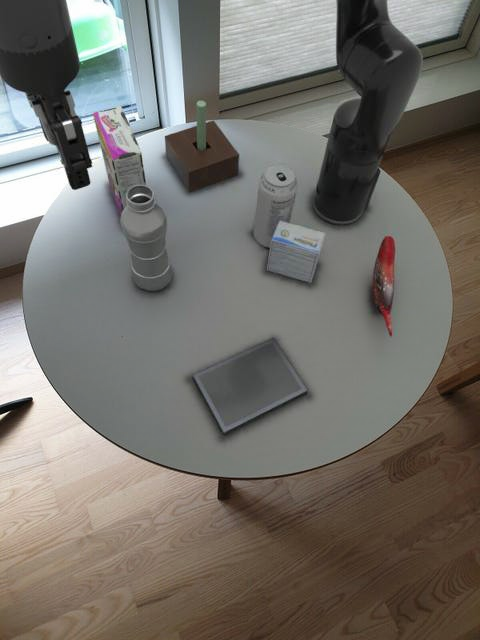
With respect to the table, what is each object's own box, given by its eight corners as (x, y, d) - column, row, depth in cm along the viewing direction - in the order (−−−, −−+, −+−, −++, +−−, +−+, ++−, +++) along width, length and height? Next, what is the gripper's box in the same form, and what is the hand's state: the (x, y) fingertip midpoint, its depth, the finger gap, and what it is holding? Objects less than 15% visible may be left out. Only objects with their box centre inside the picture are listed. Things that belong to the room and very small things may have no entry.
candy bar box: (107, 185, 100) (91, 111, 86) (133, 179, 101) (122, 104, 87) (125, 230, 95) (110, 158, 81) (152, 222, 96) (143, 151, 82)
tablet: (272, 341, 85) (273, 337, 84) (306, 393, 81) (308, 390, 80) (192, 378, 81) (192, 374, 80) (223, 435, 77) (223, 432, 76)
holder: (213, 140, 107) (213, 120, 103) (237, 174, 103) (239, 154, 99) (166, 156, 105) (164, 135, 100) (189, 192, 100) (188, 172, 96)
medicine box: (317, 264, 93) (326, 232, 86) (310, 284, 91) (319, 253, 84) (273, 251, 94) (278, 218, 87) (265, 271, 92) (271, 239, 85)
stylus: (203, 161, 104) (203, 99, 92) (207, 167, 104) (207, 105, 92) (196, 164, 104) (194, 102, 92) (199, 169, 103) (199, 107, 91)
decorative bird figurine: (381, 265, 94) (398, 227, 85) (389, 356, 85) (409, 324, 76) (364, 263, 94) (380, 226, 85) (370, 355, 85) (389, 323, 76)
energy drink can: (276, 219, 98) (287, 155, 85) (293, 243, 95) (306, 181, 83) (247, 230, 96) (253, 166, 83) (262, 254, 94) (271, 193, 81)
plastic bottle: (167, 299, 88) (158, 217, 71) (127, 291, 89) (108, 207, 71) (177, 268, 91) (171, 182, 74) (138, 260, 92) (123, 173, 75)
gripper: (96, 58, 47) (122, 192, 61) (42, -26, 53) (77, 114, 67) (9, 81, 44) (56, 214, 58) (-37, -9, 50) (16, 132, 64)
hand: (67, 161), depth 62 cm, fingers open, 8 cm apart
